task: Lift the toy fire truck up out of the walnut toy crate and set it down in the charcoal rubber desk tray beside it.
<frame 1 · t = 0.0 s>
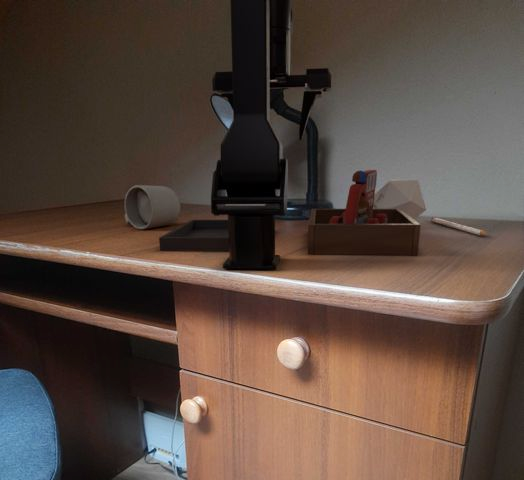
hand: (272, 140, 82), 15 cm above the table, tool pointing down, fingers open, 9 cm apart
pencil: (457, 229, 86), on the table
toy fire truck: (357, 243, 75), resting in toy crate
ceramic mug: (149, 227, 94), on the table
die: (396, 227, 90), on the table
desk tray: (217, 239, 79), on the table
toy crate: (357, 242, 75), on the table
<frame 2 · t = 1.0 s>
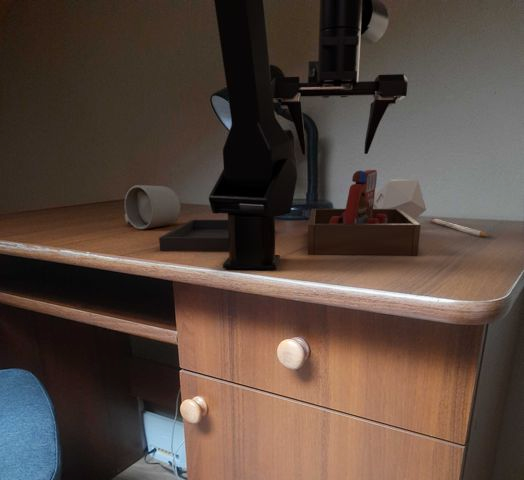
hand: (334, 154, 74), 13 cm above the table, tool pointing down, fingers open, 9 cm apart
nothing on the table moved.
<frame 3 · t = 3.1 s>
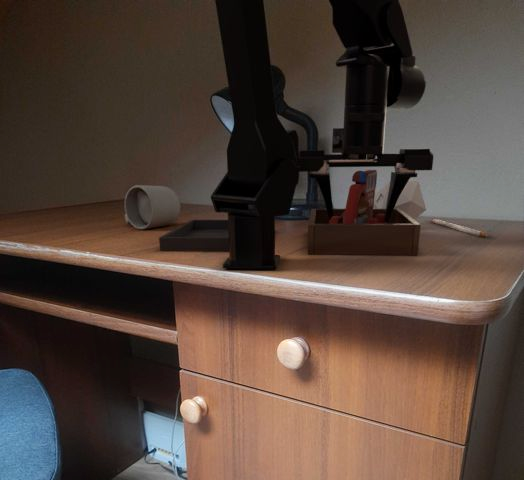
hand: (358, 222, 74), 3 cm above the table, tool pointing down, fingers closed on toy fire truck, 8 cm apart
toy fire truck: (357, 243, 75), resting in toy crate, touching gripper
everything else where it was.
when the fingers open (3 cm above the table, at t = 9.4 s): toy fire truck stays where it is, resting on desk tray.
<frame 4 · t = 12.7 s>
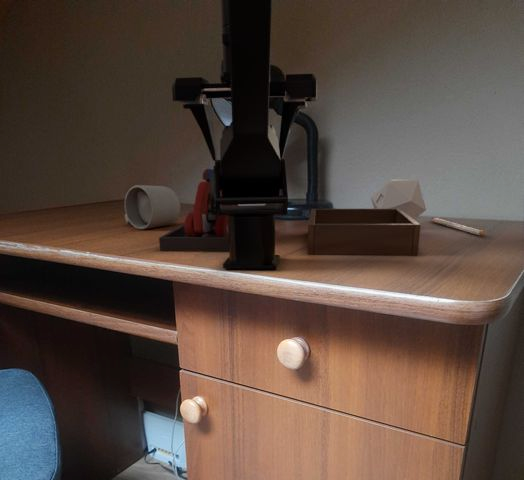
hand: (247, 160, 69), 12 cm above the table, tool pointing down, fingers open, 9 cm apart
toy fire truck: (218, 238, 79), resting on desk tray
everything else where it was.
at the end: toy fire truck inside the target area in the desk tray (0.1 cm from its centre), point 0.2 cm above the desk tray's base; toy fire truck moved 22.0 cm from its start; the gripper is holding nothing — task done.
